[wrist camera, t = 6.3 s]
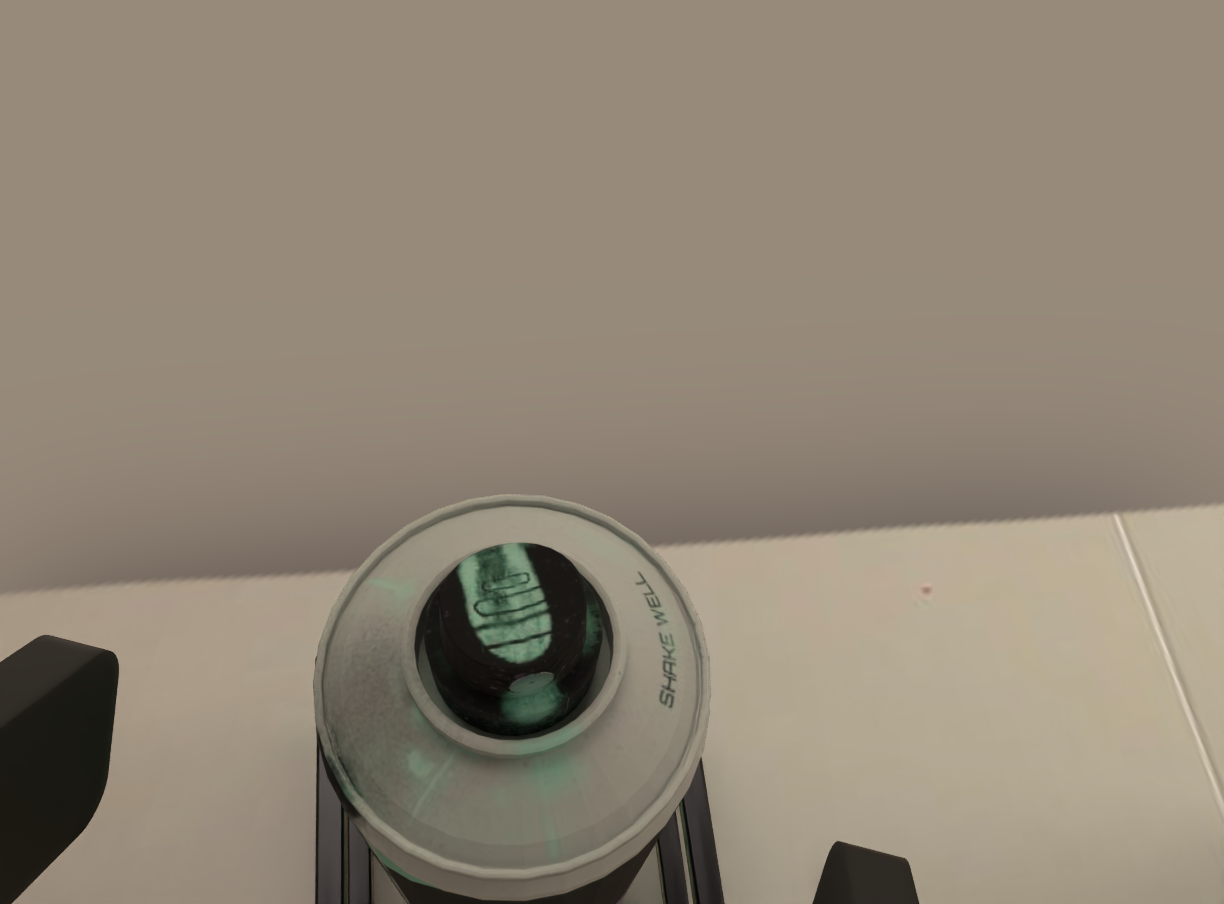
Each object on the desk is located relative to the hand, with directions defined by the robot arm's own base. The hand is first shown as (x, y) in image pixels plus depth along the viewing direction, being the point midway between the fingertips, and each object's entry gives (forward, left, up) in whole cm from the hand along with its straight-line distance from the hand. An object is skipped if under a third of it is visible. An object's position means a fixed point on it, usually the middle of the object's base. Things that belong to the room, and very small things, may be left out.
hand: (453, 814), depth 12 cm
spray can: (+2, +2, -20) cm, 20 cm away
